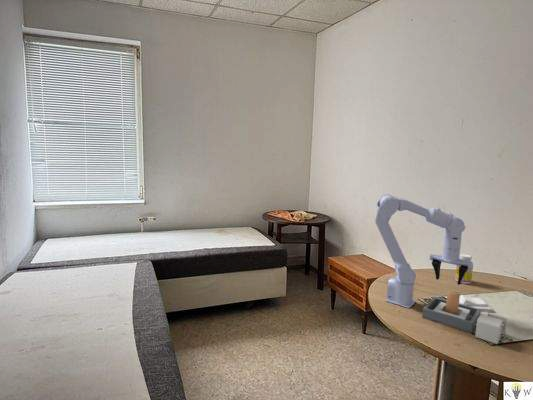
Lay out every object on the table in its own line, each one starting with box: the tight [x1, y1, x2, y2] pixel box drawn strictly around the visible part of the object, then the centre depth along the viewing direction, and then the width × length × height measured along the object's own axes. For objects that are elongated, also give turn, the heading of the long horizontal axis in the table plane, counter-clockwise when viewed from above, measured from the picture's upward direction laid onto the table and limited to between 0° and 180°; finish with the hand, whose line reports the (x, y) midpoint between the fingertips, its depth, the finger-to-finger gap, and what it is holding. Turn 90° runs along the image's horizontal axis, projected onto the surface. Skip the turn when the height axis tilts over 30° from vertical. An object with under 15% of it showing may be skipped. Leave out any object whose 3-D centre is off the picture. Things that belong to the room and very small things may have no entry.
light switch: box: [459, 294, 495, 313], centre depth 138 cm, size 11×4×13 cm
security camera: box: [474, 312, 509, 345], centre depth 114 cm, size 6×7×10 cm
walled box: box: [422, 296, 482, 334], centre depth 127 cm, size 16×14×4 cm
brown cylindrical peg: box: [445, 290, 461, 315], centre depth 126 cm, size 4×4×9 cm
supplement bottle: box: [454, 253, 474, 285], centre depth 162 cm, size 7×7×13 cm
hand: (448, 281), depth 135 cm, fingers open, 7 cm apart
